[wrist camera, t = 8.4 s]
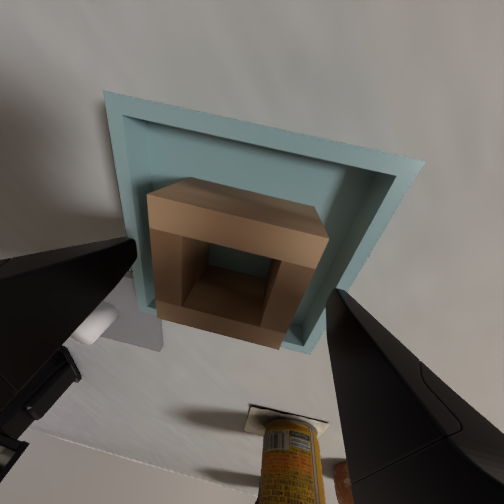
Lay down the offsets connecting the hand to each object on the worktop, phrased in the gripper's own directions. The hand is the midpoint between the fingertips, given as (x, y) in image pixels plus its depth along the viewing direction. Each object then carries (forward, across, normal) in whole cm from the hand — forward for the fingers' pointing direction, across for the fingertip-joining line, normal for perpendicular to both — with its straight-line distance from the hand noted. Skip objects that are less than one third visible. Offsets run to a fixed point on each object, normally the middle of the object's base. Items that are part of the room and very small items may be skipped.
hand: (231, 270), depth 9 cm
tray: (+3, 0, 0) cm, 3 cm away
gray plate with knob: (+3, +10, +8) cm, 13 cm away
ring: (+2, 0, 0) cm, 2 cm away
